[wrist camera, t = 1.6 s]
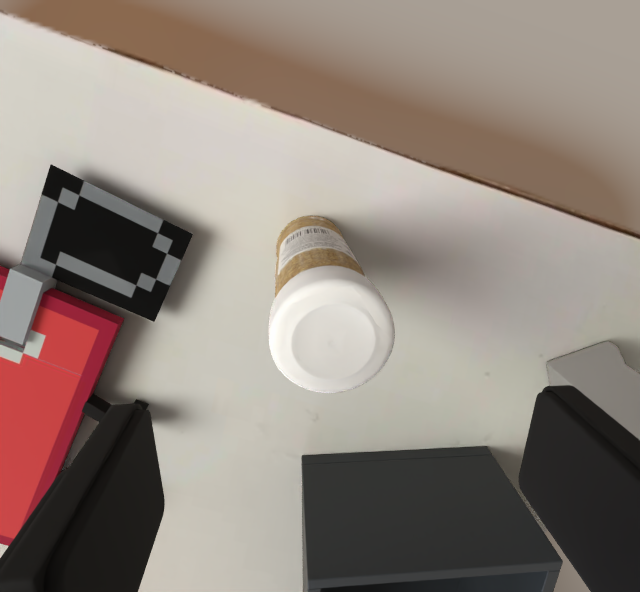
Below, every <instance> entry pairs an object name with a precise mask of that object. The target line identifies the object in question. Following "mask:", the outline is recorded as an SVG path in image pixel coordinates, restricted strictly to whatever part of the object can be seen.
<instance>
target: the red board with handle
mask: <svg viewBox="0 0 640 592" xmlns="http://www.w3.org/2000/svg"><path fill="white" fill-rule="evenodd" d="M192 235H193V234H192V233H190V232H188V231H185V230H183V229H181V228H179V227H177V226H175V225H173V224H171V223H169V222H167V221H165V220H163V219H161V218H159V217H157V216H155V215H153V214H151V213H149V212H147V211H145V210H143V209H141V208H139V207H137V206H135V205H133V204H130V203H128V202H126V201H124V200H122V199H120V198H118V197H116V196H114V195H112V194H110V193H108V192H106V191H104V190H102V189H100V188H98V187H96V186H94V185H92V184H90V183H88V182H86V181H84V180H82V179H80V178H77V177H75V176H73V175H71V174H69V173H67V172H65V171H63V170H61V169H59V168H57V167H55V166H53V165H50V169H49V172H48V175H47V178H46V182H45V185H44V188H43V191H42V195H41V198H40V201H39V205H38V208H37V211H36V214H35V218H34V221H33V224H32V227H31V231H30V234H29V237H28V240H27V244H26V247H25V250H24V253H23V257H22V260H21V263H20V264H19V265H17V266H15V267H13V268H10V270H9V269H7V268H4V267H2V266H0V544H4V545H8V546H9V545H10V544H11V542H12V541H13V539H14V538H15V537H16V535H17V534H18V532H19V531H20V529H21V528H22V526H23V525H24V524H25V522H26V521H27V519H28V518H29V516H30V515H31V513H32V512H33V511H34V509H35V508H36V506H37V505H38V503H39V502H40V500H41V499H42V498H43V496H44V495H45V493H46V492H47V490H48V489H49V487H50V486H51V485H52V483H53V482H54V480H55V479H56V477H57V476H58V475H59V474H60V472H61V470H62V467H63V465H64V462H65V460H66V458H67V455H68V453H69V450H70V448H71V445H72V443H73V441H74V438H75V436H76V433H77V431H78V429H79V426H80V424H81V421H82V419H83V417H84V414H87V415H88V416H90V417H91V418H93V419H95V420H96V421H98V422H100V421H101V419H102V418H103V416H104V415H105V413H106V412H107V410H108V409H109V408H110V407H111V406H112V405H111V404H110V403H108V402H106V401H105V400H103V399H101V398H100V397H98V396H97V395H95V394H93V392H94V390H95V388H96V385H97V383H98V380H99V378H100V376H101V373H102V371H103V368H104V366H105V363H106V361H107V359H108V356H109V354H110V351H111V349H112V347H113V344H114V342H115V339H116V337H117V335H118V332H119V330H120V327H121V325H122V322H123V320H124V318H122V317H119V316H117V315H115V314H112V313H110V312H108V311H105V310H103V309H101V308H98V307H96V306H94V305H91V304H89V303H87V302H84V301H82V300H80V299H77V298H75V297H72V296H70V295H68V294H65V293H63V292H61V291H58V290H56V289H55V286H56V283H57V280H58V281H61V282H63V283H65V284H68V285H70V286H72V287H75V288H77V289H79V290H82V291H84V292H86V293H89V294H91V295H93V296H96V297H98V298H100V299H103V300H105V301H107V302H109V303H112V304H114V305H116V306H119V307H121V308H123V309H126V310H128V311H130V312H133V313H135V314H137V315H140V316H142V317H144V318H147V319H149V320H151V321H155V319H156V317H157V314H158V312H159V310H160V308H161V305H162V303H163V301H164V299H165V296H166V294H167V292H168V290H169V287H170V285H171V283H172V281H173V278H174V276H175V274H176V272H177V269H178V267H179V265H180V263H181V260H182V258H183V256H184V254H185V251H186V249H187V247H188V244H189V242H190V240H191V238H192ZM25 342H27V343H25ZM134 404H140V405H141V407H142V410H146V409H147V407H148V405H149V404H147V403H144V402H142V401H139V400H137V399H136V401H135V403H134Z"/></svg>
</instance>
